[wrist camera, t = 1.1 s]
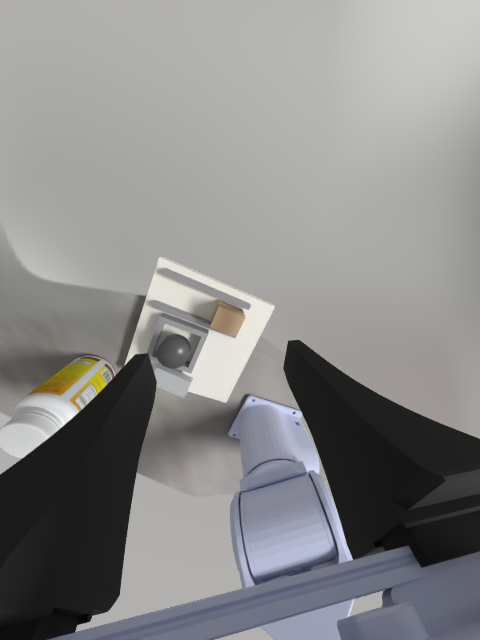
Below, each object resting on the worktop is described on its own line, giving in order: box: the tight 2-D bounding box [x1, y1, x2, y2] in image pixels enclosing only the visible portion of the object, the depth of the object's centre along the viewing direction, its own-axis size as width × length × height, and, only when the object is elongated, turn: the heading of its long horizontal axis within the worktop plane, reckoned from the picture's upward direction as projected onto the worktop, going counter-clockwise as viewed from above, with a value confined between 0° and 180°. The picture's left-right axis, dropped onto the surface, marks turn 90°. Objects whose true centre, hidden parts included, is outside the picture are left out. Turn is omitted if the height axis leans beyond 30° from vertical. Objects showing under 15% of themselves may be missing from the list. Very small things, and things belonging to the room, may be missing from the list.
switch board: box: [124, 257, 275, 403], centre depth 25 cm, size 14×15×3 cm
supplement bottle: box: [0, 356, 115, 458], centre depth 22 cm, size 6×6×10 cm
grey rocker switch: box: [154, 364, 193, 398], centre depth 24 cm, size 4×2×1 cm, turn 66°
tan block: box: [210, 300, 246, 337], centre depth 22 cm, size 3×2×3 cm
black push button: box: [156, 334, 190, 369], centre depth 22 cm, size 3×3×2 cm
